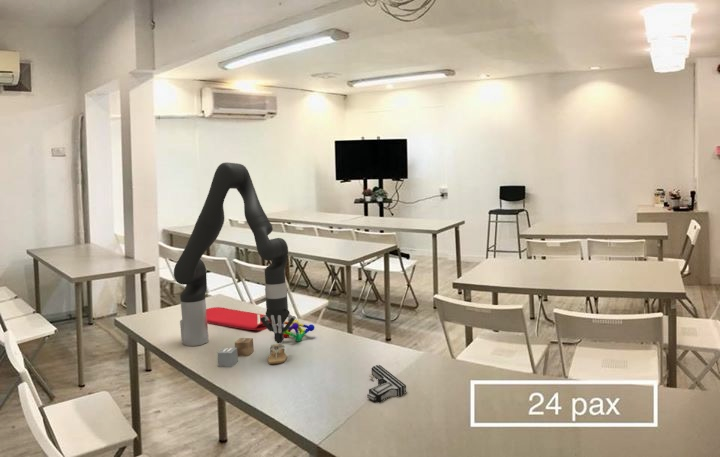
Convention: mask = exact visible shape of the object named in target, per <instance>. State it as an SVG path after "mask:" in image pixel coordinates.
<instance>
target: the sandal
mask: <svg viewBox="0 0 720 457" xmlns="http://www.w3.org/2000/svg"><path fill="white" fill-rule="evenodd" d="M269 349H270V353H271V354H270V355H269V356H268V358H267V363H268V364H269V365H275V364H276V365H277V364H282V363H285V362H286V361H287V358H288V356H287V354H286V352H285V346H284V344H283V343H275V344H271V345H270V347H269Z"/></svg>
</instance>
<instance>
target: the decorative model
mask: <svg viewBox="0 0 720 457" xmlns="http://www.w3.org/2000/svg"><path fill="white" fill-rule="evenodd" d="M288 322H289V321H288V320H287V321H285V322H284V325H287V323H288ZM301 327H302V328H301ZM304 328H305V329H304ZM292 330H294V332H295V333H292ZM314 330H315V325H314V324H311V323H310V324H309V325H307V324H304V323H300V322H299V320H294V321H293V323H292V324H291V325H290V327H289V328H288V329H287V331H286V332H283V336H284V338H289V337H293V338H294V339H295V341H296V342H300V341H302V337H304V336H305V335H307V333H309V332H313V331H314Z"/></svg>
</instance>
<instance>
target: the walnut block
mask: <svg viewBox="0 0 720 457" xmlns="http://www.w3.org/2000/svg"><path fill="white" fill-rule="evenodd" d="M234 348H237V354H238V357H249V356H251V355H252V353H253V352H254V351H255V349H254V338H252V337H239V338H238V339H237V340H236V341H235V342H234Z"/></svg>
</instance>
